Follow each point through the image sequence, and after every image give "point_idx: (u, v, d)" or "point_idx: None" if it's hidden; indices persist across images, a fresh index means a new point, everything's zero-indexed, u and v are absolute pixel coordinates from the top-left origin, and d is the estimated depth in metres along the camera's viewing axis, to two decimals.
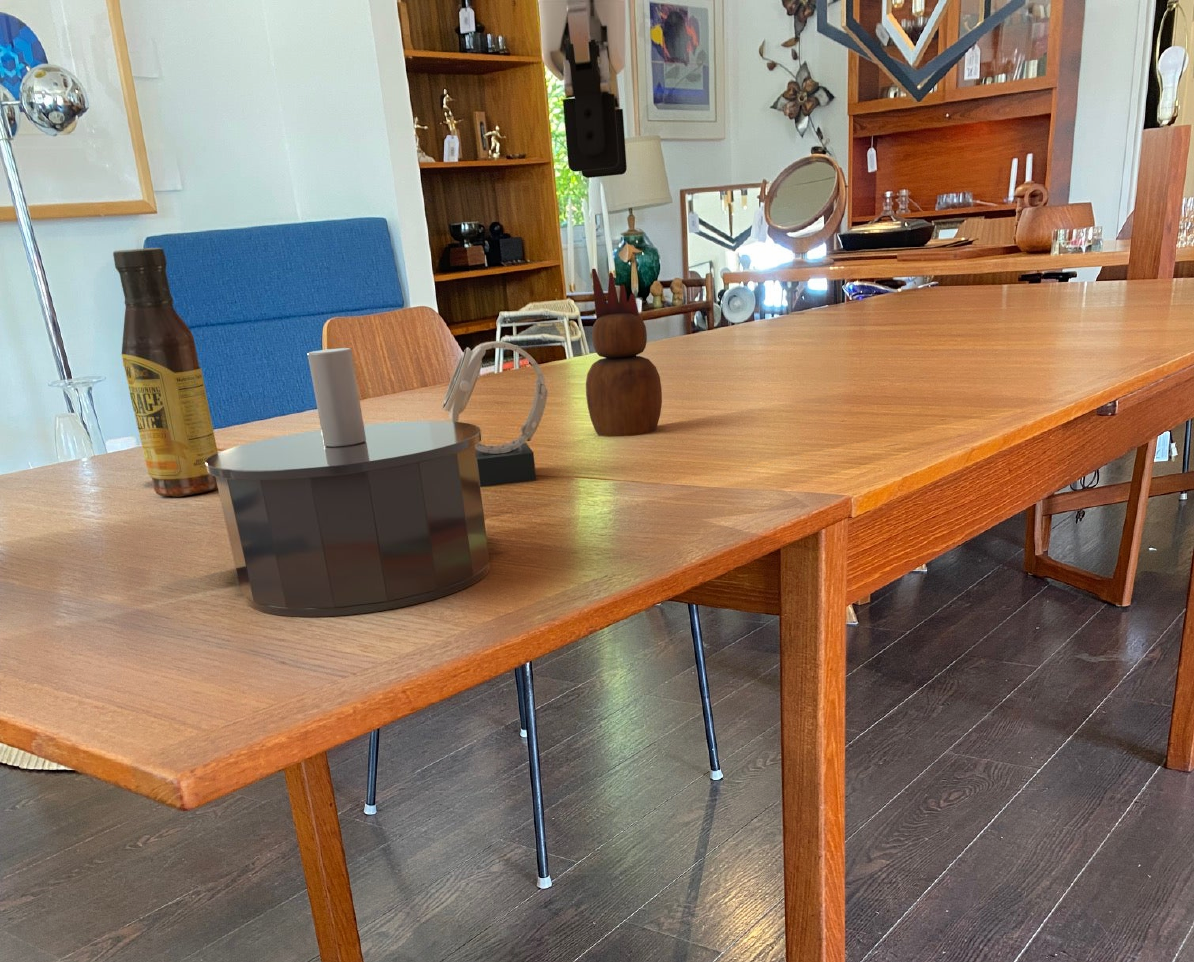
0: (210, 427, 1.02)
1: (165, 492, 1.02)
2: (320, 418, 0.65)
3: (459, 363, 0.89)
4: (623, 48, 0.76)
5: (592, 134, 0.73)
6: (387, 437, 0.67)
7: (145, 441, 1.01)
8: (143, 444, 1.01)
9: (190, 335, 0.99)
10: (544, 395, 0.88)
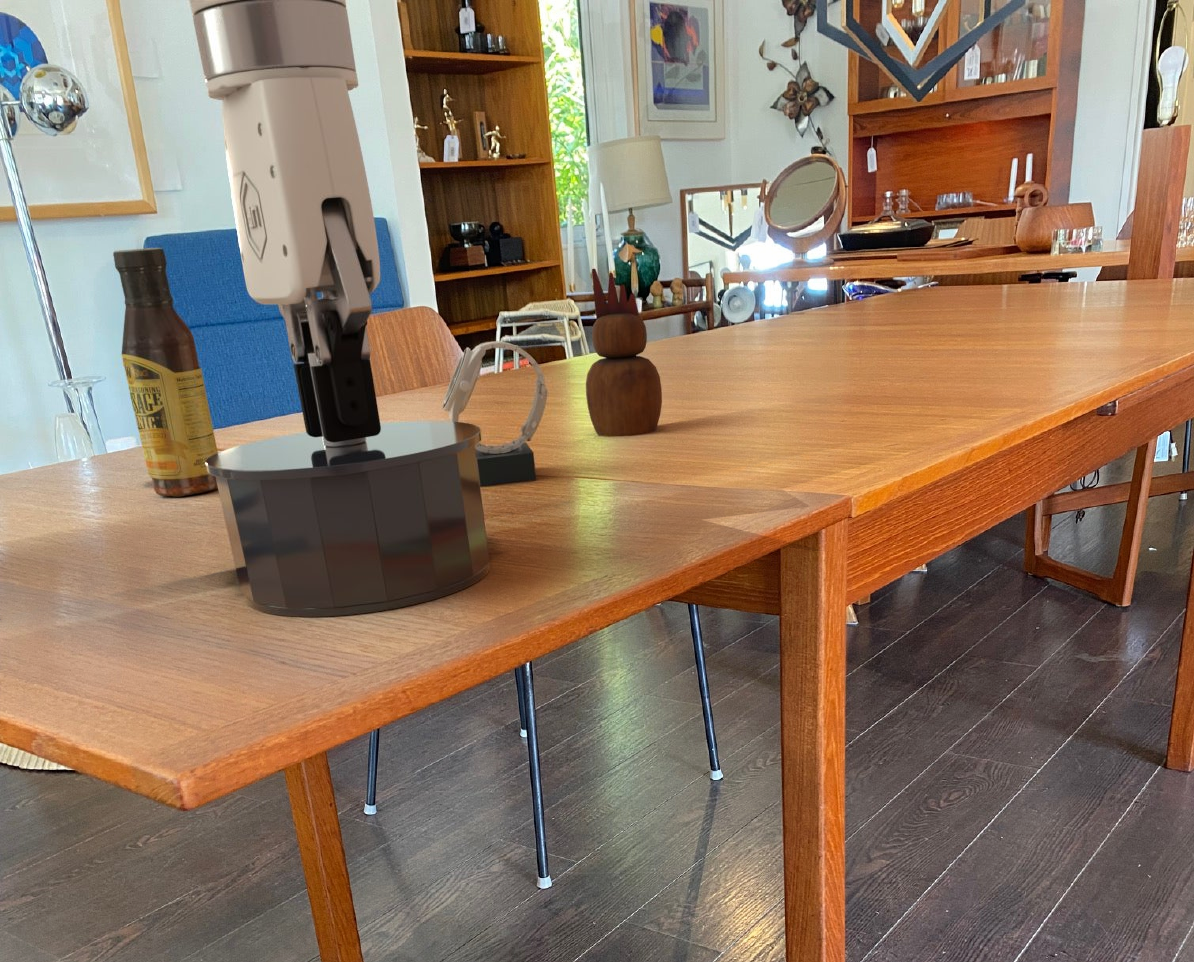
0: (210, 427, 1.02)
1: (165, 492, 1.02)
2: None
3: (459, 363, 0.89)
4: None
5: (355, 404, 0.64)
6: (387, 437, 0.67)
7: (145, 441, 1.01)
8: (143, 444, 1.01)
9: (190, 335, 0.99)
10: (544, 395, 0.88)
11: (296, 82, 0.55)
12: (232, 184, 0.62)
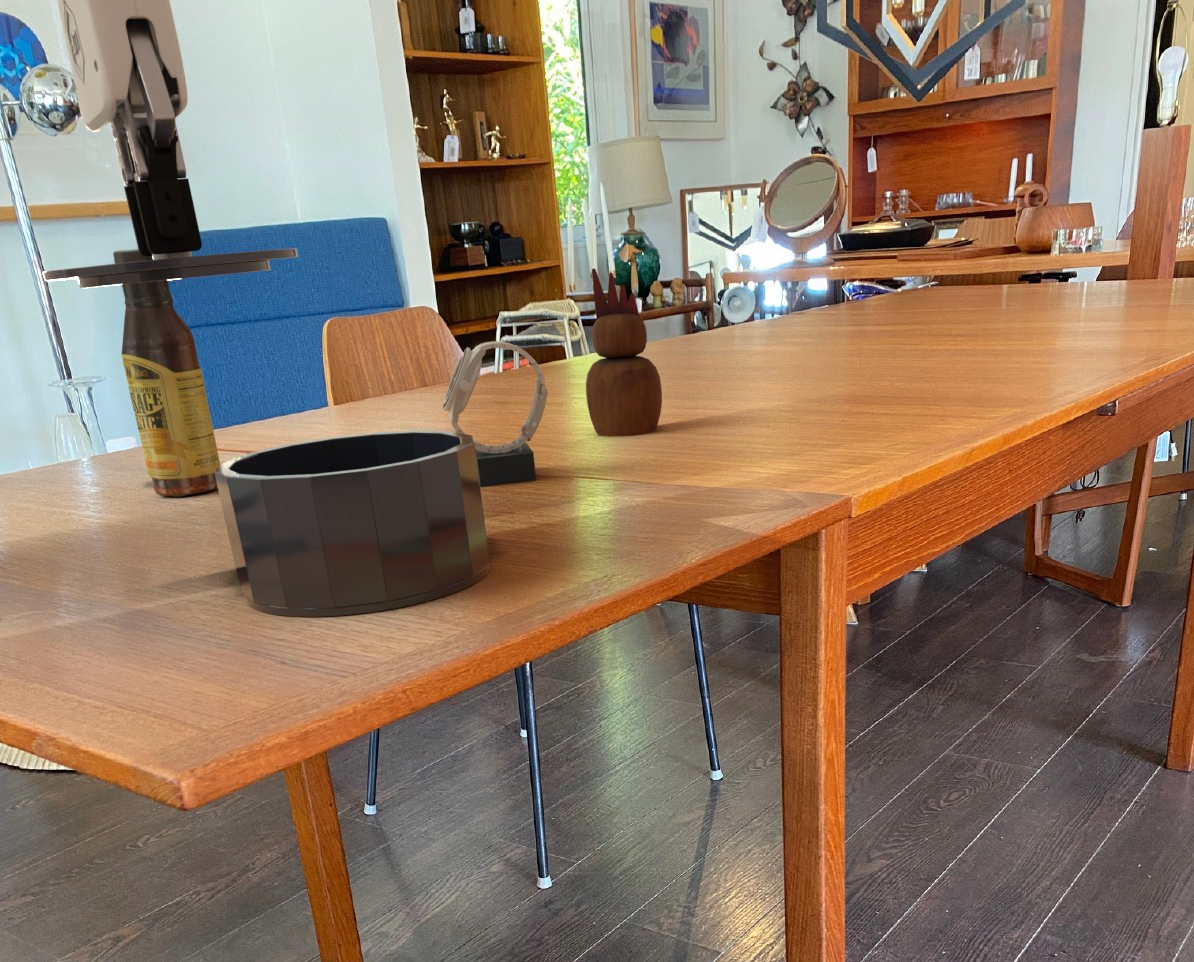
0: (210, 427, 1.02)
1: (165, 492, 1.02)
2: None
3: (459, 363, 0.89)
4: None
5: (174, 218, 0.71)
6: None
7: (145, 441, 1.01)
8: (143, 444, 1.01)
9: (190, 335, 0.99)
10: (544, 395, 0.88)
11: None
12: (61, 18, 0.70)
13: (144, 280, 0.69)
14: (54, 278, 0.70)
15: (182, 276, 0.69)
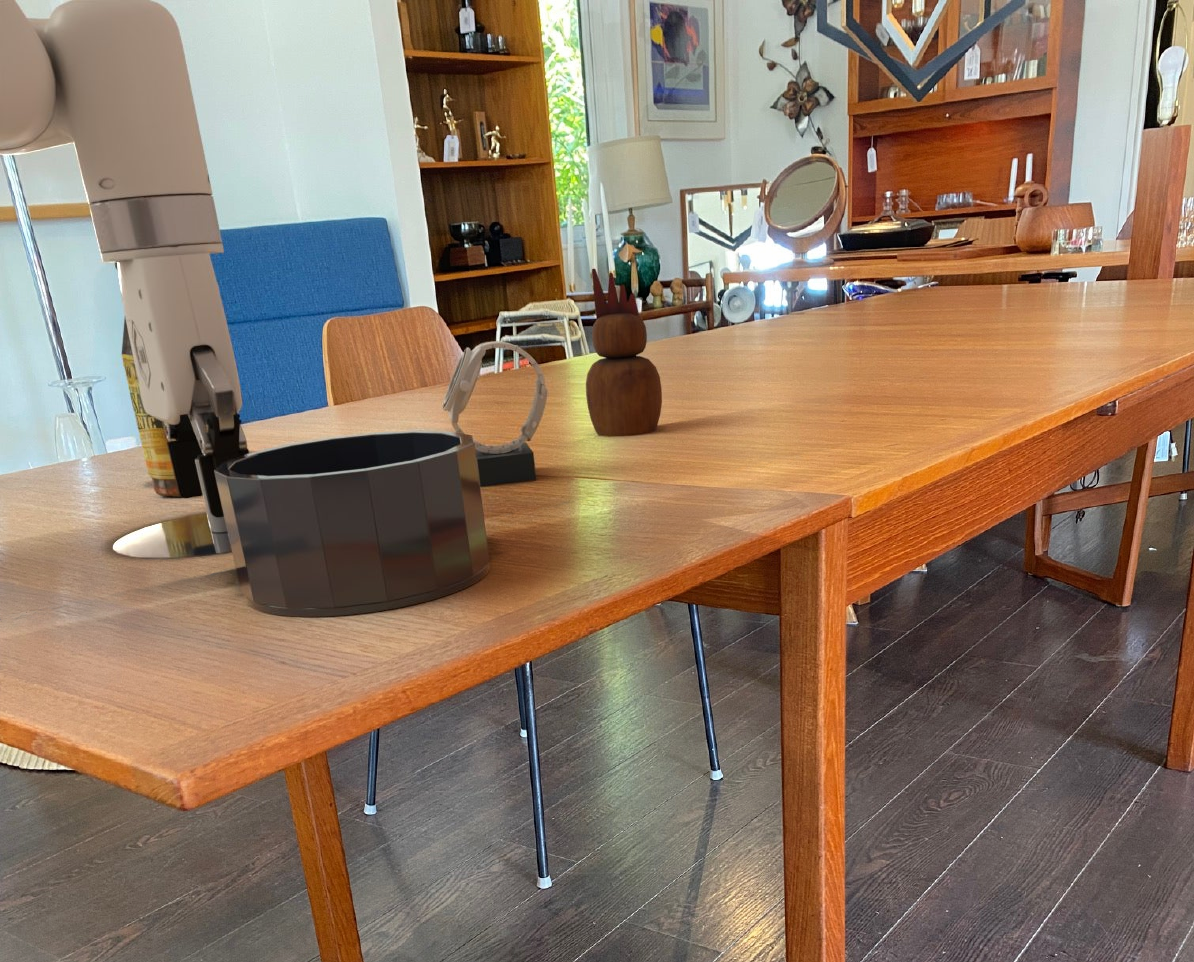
0: None
1: (165, 492, 1.02)
2: (206, 510, 0.81)
3: (459, 363, 0.89)
4: None
5: None
6: None
7: (145, 441, 1.01)
8: (143, 444, 1.01)
9: None
10: (544, 395, 0.88)
11: (167, 259, 0.71)
12: (127, 325, 0.78)
13: None
14: None
15: None
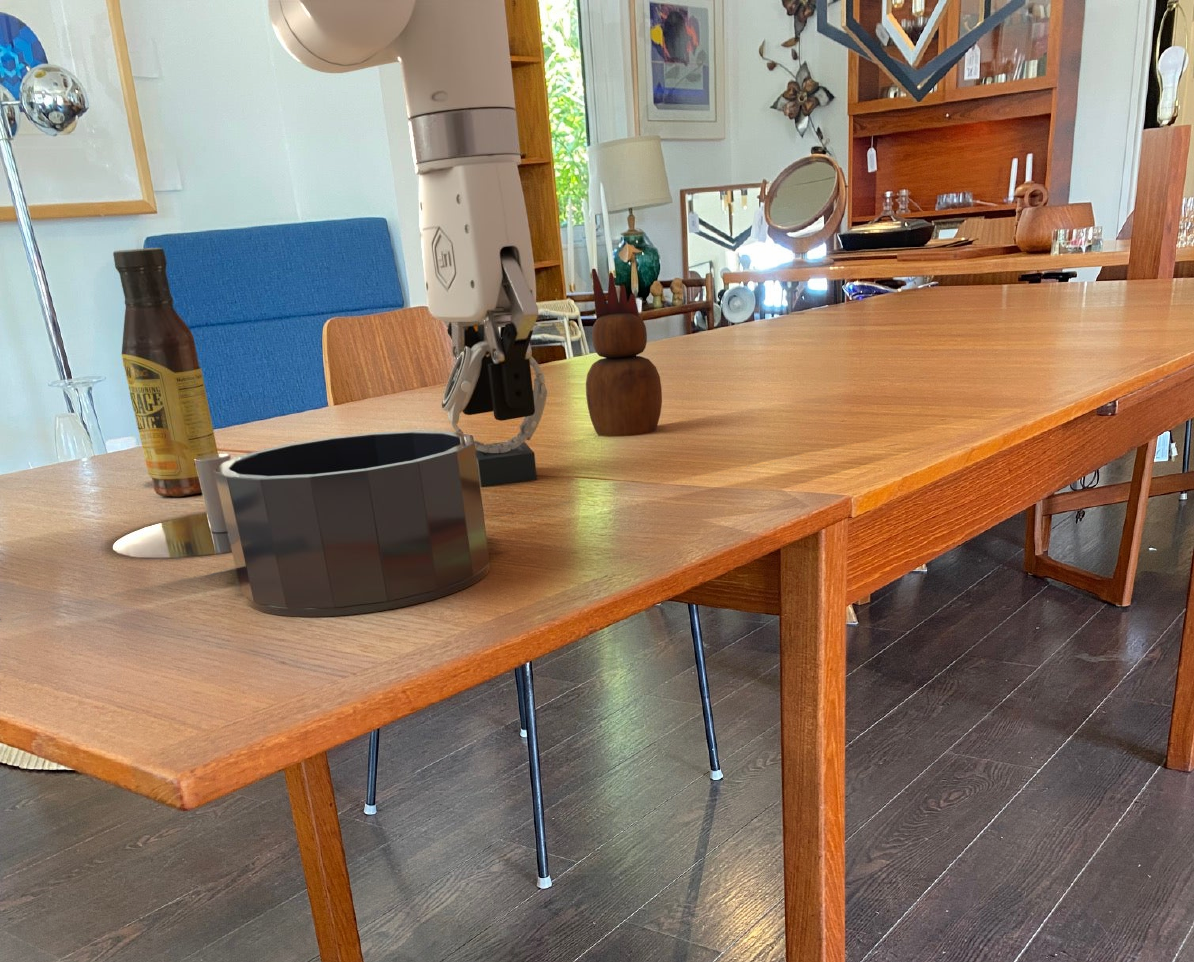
0: (210, 427, 1.02)
1: (165, 492, 1.02)
2: (206, 510, 0.81)
3: (457, 361, 0.88)
4: None
5: (519, 392, 0.86)
6: None
7: (145, 441, 1.01)
8: (143, 444, 1.01)
9: (190, 335, 0.99)
10: (544, 394, 0.88)
11: (486, 166, 0.79)
12: (424, 234, 0.85)
13: None
14: None
15: None
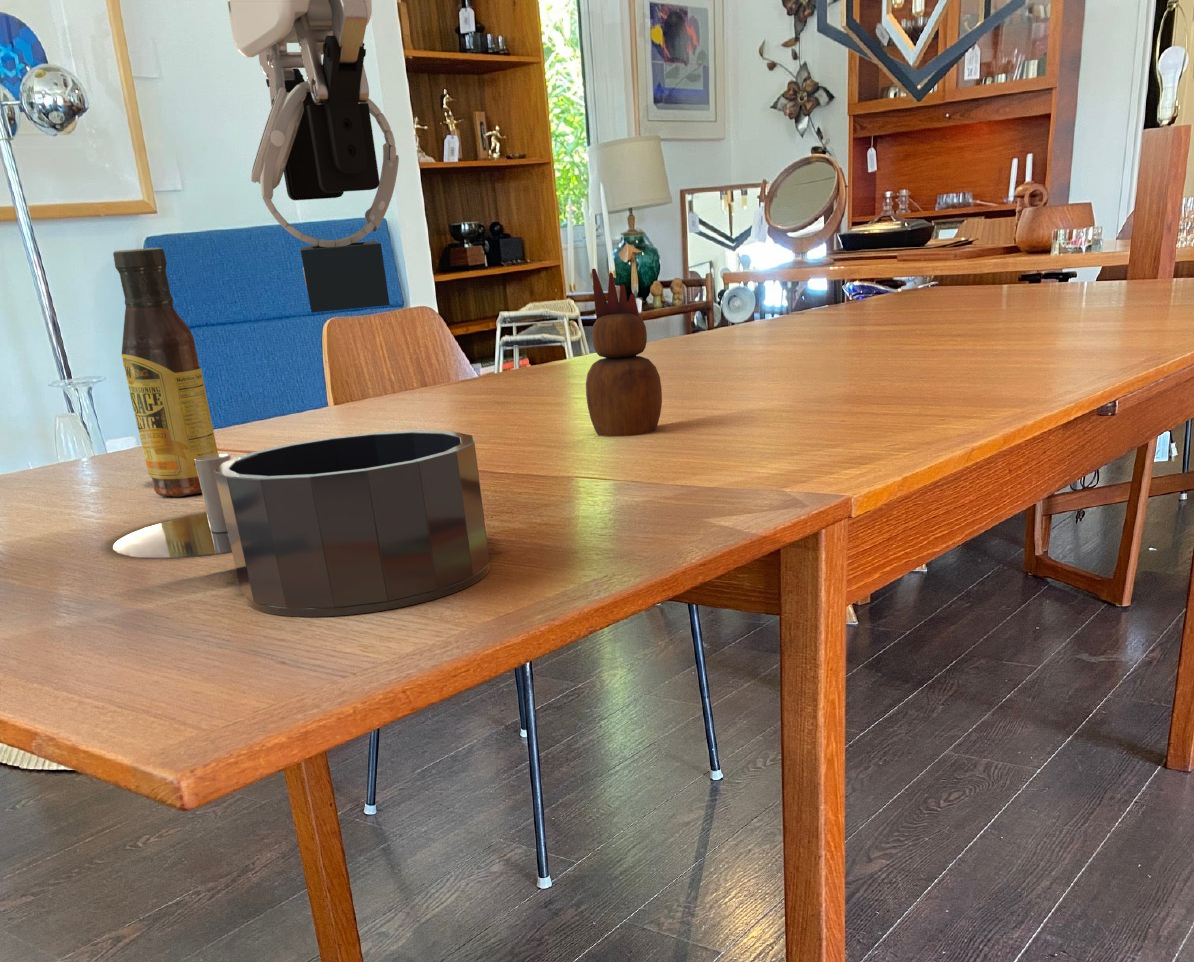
0: (210, 427, 1.02)
1: (165, 492, 1.02)
2: (206, 510, 0.81)
3: None
4: None
5: (352, 148, 0.61)
6: None
7: (145, 441, 1.01)
8: (143, 444, 1.01)
9: (190, 335, 0.99)
10: (394, 162, 0.63)
11: None
12: None
13: None
14: None
15: None
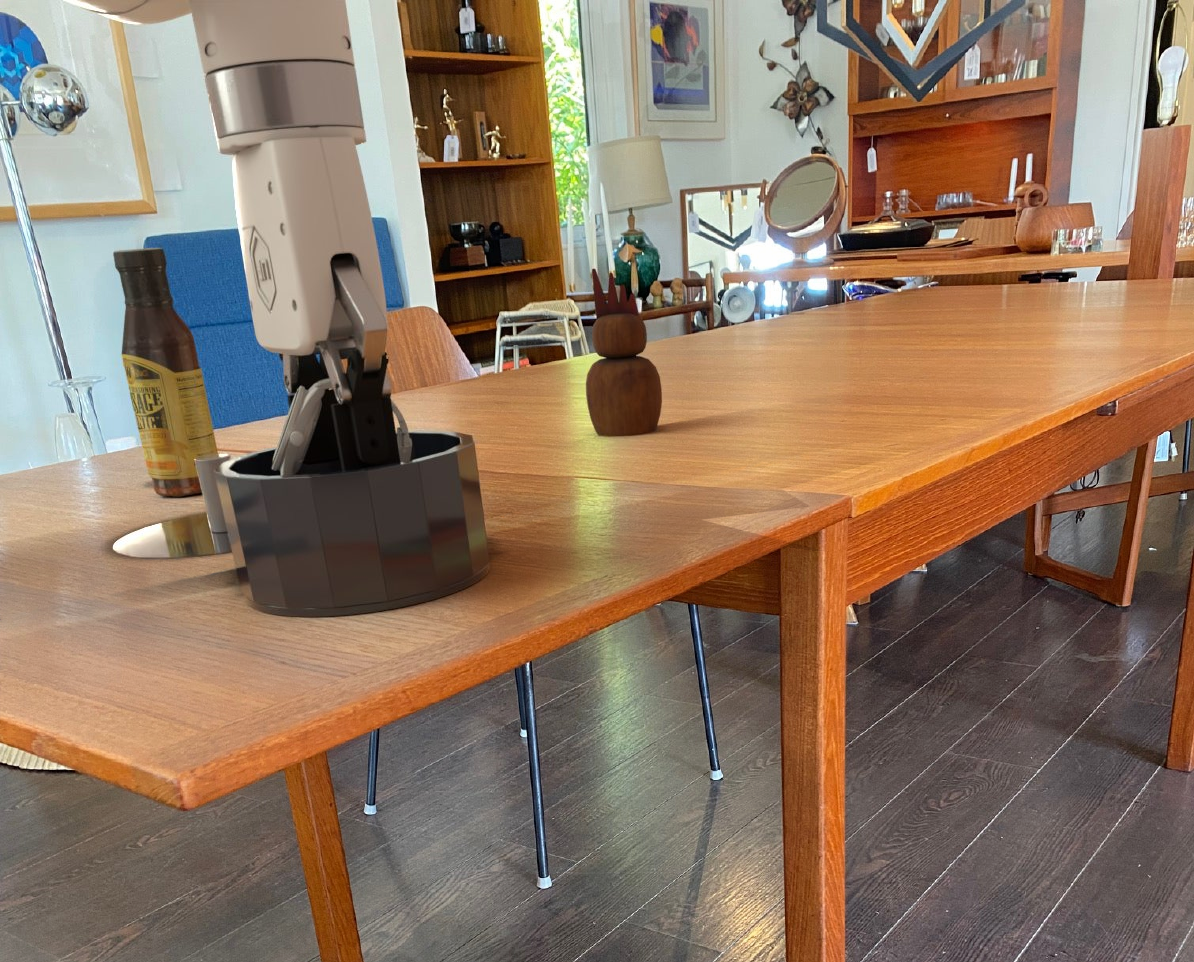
0: (210, 427, 1.02)
1: (165, 492, 1.02)
2: (206, 510, 0.81)
3: None
4: None
5: (375, 442, 0.62)
6: None
7: (145, 441, 1.01)
8: (143, 444, 1.01)
9: (190, 335, 0.99)
10: (408, 448, 0.66)
11: (306, 142, 0.56)
12: (242, 236, 0.63)
13: None
14: None
15: None
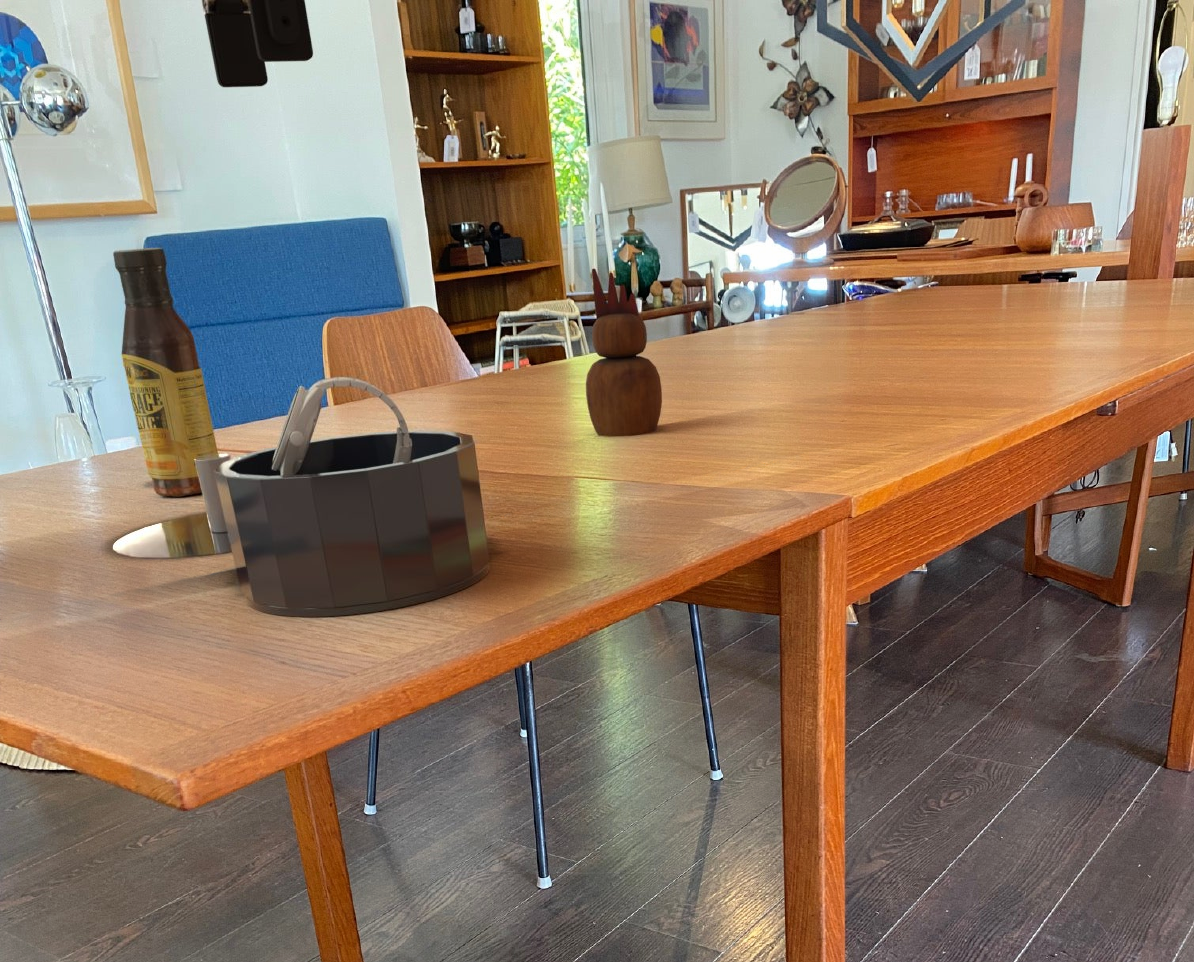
0: (210, 427, 1.02)
1: (165, 492, 1.02)
2: (206, 510, 0.81)
3: None
4: None
5: (286, 19, 0.67)
6: None
7: (145, 441, 1.01)
8: (143, 444, 1.01)
9: (190, 335, 0.99)
10: (408, 448, 0.66)
11: None
12: None
13: None
14: None
15: None
